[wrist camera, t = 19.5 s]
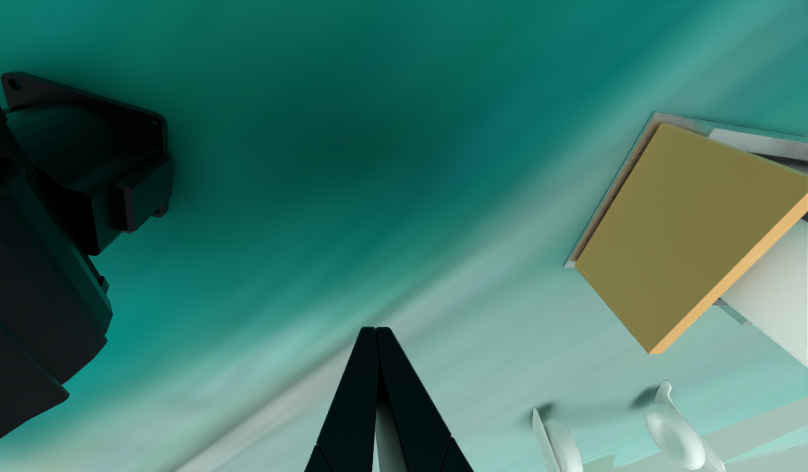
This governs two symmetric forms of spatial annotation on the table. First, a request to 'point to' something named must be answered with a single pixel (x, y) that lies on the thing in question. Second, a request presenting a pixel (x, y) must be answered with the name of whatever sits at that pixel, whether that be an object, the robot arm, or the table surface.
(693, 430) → the headset
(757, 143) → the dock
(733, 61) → the table surface
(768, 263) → the bottle
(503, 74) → the table surface
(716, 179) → the grey and tan box
